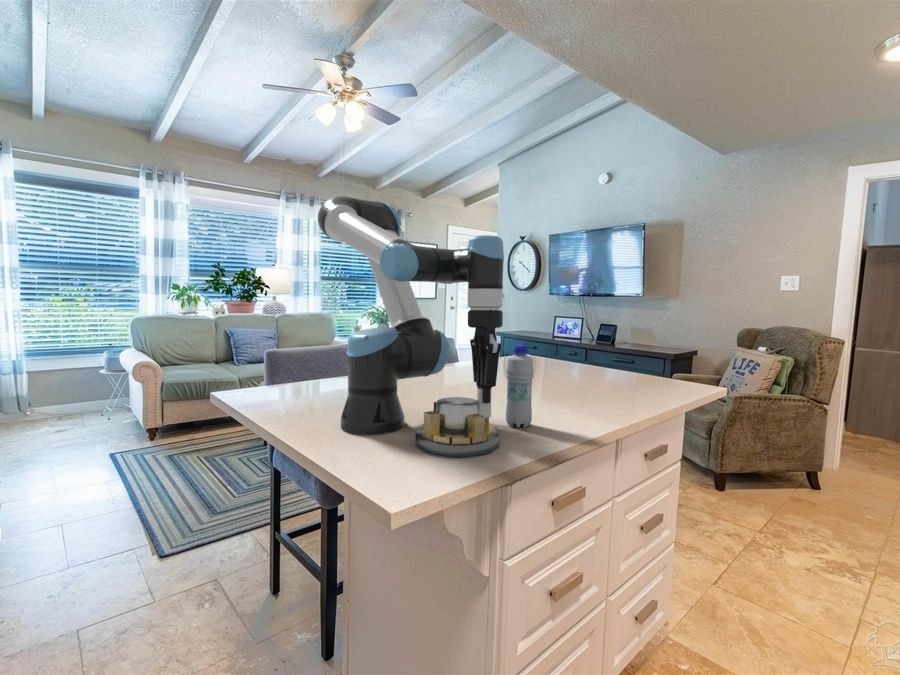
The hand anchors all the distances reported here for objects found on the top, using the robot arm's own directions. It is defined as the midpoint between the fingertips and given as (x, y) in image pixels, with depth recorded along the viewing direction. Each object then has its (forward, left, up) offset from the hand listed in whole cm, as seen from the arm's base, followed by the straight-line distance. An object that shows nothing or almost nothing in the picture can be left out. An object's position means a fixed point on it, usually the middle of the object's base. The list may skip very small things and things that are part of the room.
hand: (484, 416), depth 100 cm
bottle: (+5, +14, -5) cm, 16 cm away
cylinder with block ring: (-5, -4, -3) cm, 7 cm away
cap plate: (-5, -4, -5) cm, 8 cm away
